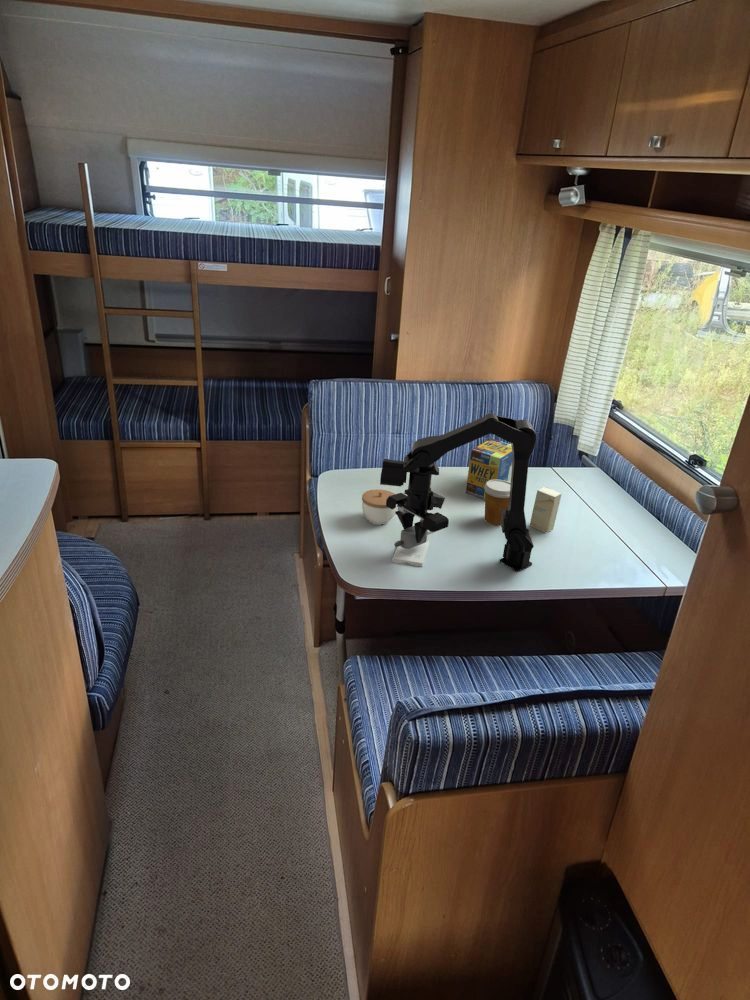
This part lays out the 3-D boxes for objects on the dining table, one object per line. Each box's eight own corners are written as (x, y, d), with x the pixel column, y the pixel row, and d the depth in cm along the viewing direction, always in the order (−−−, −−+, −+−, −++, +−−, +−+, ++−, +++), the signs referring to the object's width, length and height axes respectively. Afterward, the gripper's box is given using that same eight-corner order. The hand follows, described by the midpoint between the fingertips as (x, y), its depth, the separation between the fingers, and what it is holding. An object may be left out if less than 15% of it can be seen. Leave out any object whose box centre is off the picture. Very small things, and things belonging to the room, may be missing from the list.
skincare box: (529, 525, 198) (536, 489, 193) (536, 521, 201) (543, 485, 196) (547, 533, 194) (555, 496, 189) (554, 529, 197) (562, 492, 192)
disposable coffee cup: (515, 526, 197) (522, 491, 192) (487, 529, 194) (493, 492, 189) (501, 512, 205) (507, 477, 200) (474, 514, 202) (479, 479, 197)
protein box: (464, 493, 217) (470, 449, 210) (485, 479, 228) (491, 437, 222) (493, 502, 212) (500, 458, 205) (512, 488, 223) (520, 445, 217)
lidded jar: (364, 529, 189) (366, 500, 185) (357, 512, 198) (359, 484, 194) (400, 528, 191) (402, 499, 187) (391, 511, 201) (394, 483, 197)
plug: (400, 552, 172) (401, 539, 170) (391, 546, 174) (392, 533, 173) (435, 538, 180) (436, 526, 178) (426, 533, 182) (427, 520, 181)
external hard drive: (429, 546, 184) (422, 568, 173) (400, 541, 185) (391, 562, 174) (429, 541, 183) (422, 562, 172) (401, 536, 184) (392, 557, 173)
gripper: (466, 493, 169) (459, 545, 175) (416, 469, 181) (411, 518, 188) (436, 503, 162) (429, 557, 168) (386, 477, 174) (382, 528, 181)
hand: (413, 539), depth 177 cm, fingers closed on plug, 3 cm apart
